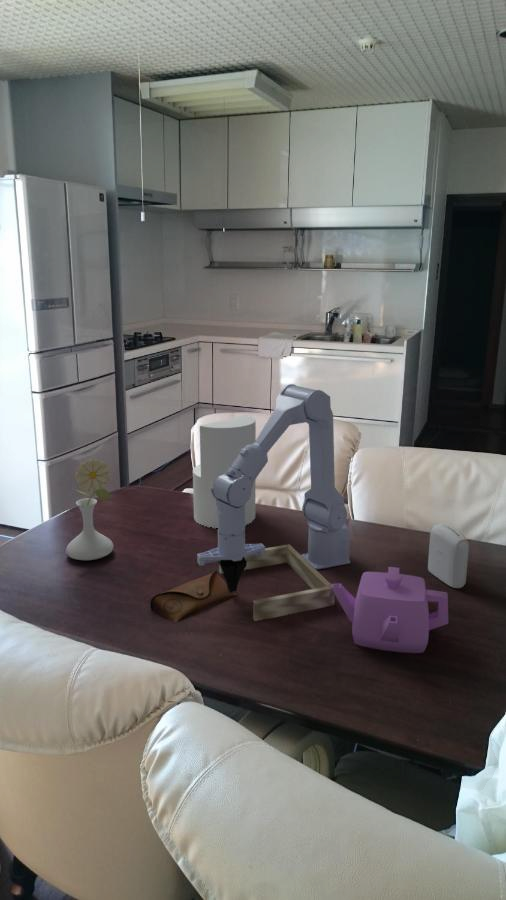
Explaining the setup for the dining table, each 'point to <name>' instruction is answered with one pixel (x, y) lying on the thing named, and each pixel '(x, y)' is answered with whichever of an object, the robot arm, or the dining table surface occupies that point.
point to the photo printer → (448, 555)
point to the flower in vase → (90, 512)
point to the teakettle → (392, 611)
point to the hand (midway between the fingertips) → (231, 589)
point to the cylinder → (220, 464)
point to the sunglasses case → (191, 597)
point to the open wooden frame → (291, 602)
